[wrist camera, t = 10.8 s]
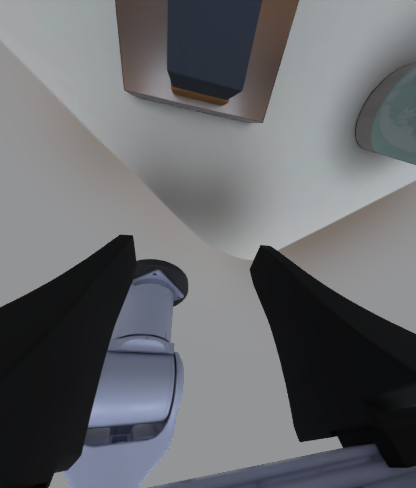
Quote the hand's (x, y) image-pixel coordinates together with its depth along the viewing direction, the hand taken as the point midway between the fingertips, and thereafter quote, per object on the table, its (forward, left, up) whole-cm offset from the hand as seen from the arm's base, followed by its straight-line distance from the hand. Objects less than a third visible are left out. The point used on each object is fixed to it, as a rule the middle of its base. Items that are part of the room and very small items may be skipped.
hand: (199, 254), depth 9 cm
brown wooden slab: (+15, +23, -9) cm, 28 cm away
